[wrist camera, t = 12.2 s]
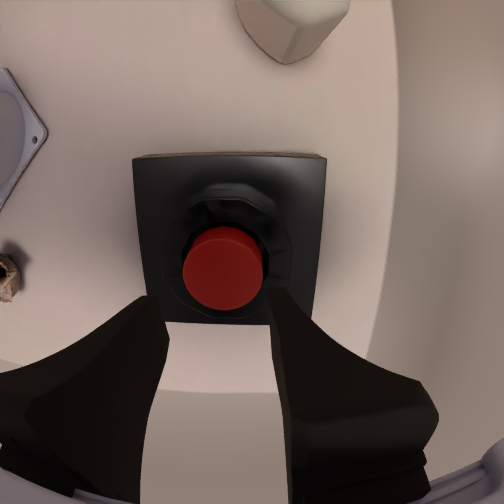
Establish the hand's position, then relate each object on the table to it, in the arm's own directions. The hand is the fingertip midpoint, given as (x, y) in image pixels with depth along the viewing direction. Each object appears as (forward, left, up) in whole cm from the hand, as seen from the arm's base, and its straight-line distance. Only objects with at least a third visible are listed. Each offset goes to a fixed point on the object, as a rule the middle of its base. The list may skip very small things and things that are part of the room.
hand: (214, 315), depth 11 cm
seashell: (-17, +10, -9) cm, 22 cm away
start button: (0, 0, -5) cm, 5 cm away
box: (0, 0, -8) cm, 8 cm away
